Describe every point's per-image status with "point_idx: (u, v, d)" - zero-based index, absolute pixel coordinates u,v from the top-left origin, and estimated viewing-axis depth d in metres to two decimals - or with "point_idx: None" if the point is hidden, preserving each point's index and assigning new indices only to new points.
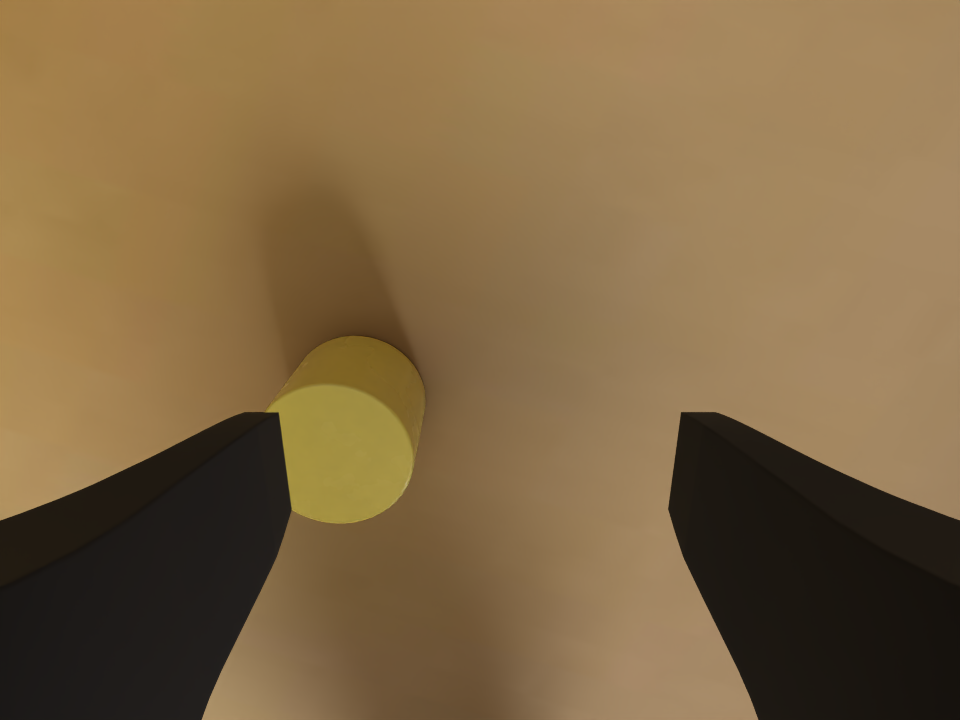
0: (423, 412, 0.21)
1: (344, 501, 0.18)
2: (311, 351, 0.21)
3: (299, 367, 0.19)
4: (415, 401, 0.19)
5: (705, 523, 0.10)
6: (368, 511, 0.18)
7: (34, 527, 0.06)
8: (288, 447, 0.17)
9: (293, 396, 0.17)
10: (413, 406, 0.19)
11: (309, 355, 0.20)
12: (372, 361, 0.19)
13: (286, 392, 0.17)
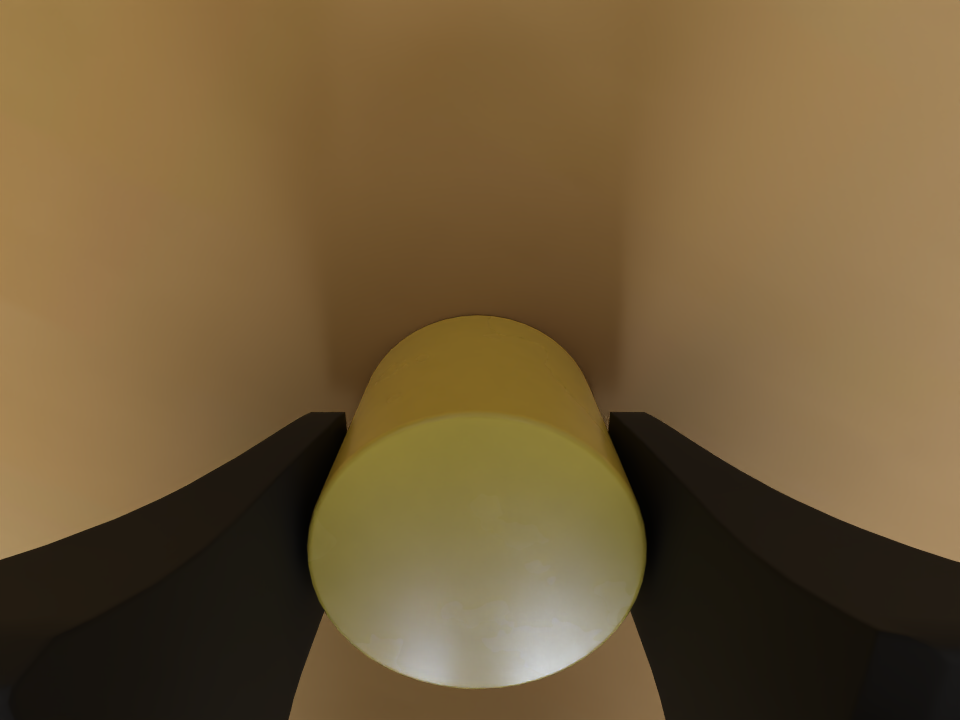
0: None
1: (473, 650, 0.09)
2: (415, 332, 0.11)
3: (407, 361, 0.10)
4: None
5: None
6: (515, 674, 0.09)
7: (148, 527, 0.06)
8: (388, 533, 0.08)
9: (430, 432, 0.08)
10: None
11: (417, 339, 0.11)
12: (557, 374, 0.10)
13: (413, 419, 0.08)
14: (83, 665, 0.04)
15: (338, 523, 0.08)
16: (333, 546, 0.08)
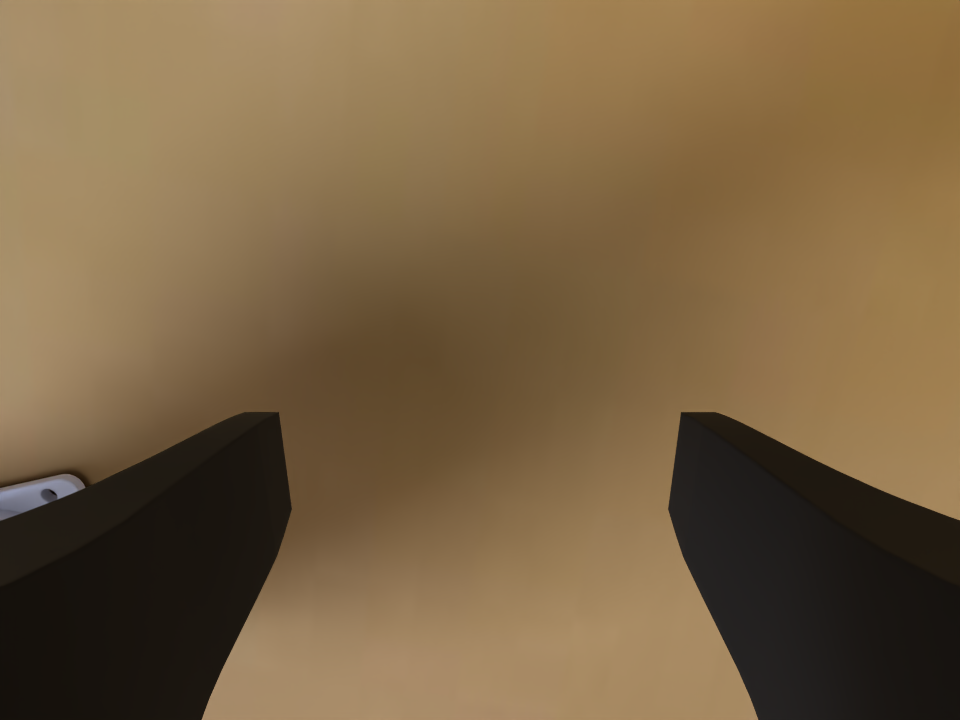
0: None
1: None
2: None
3: None
4: None
5: (705, 523, 0.10)
6: None
7: (34, 527, 0.06)
8: None
9: None
10: None
11: None
12: None
13: None
14: None
15: None
16: None
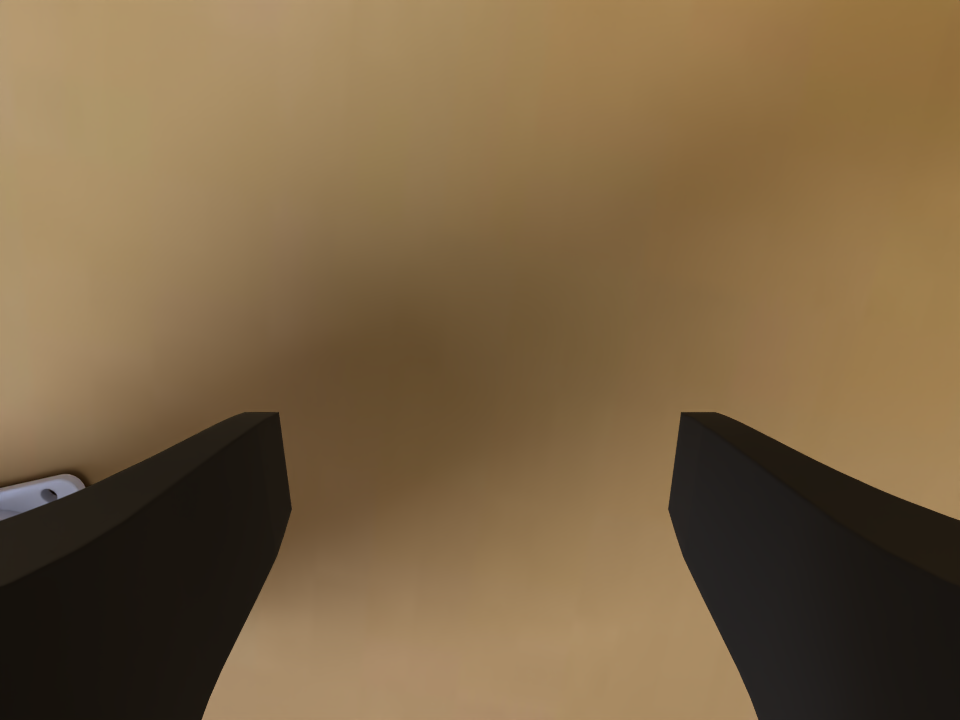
0: None
1: None
2: None
3: None
4: None
5: (705, 523, 0.10)
6: None
7: (34, 527, 0.06)
8: None
9: None
10: None
11: None
12: None
13: None
14: None
15: None
16: None
